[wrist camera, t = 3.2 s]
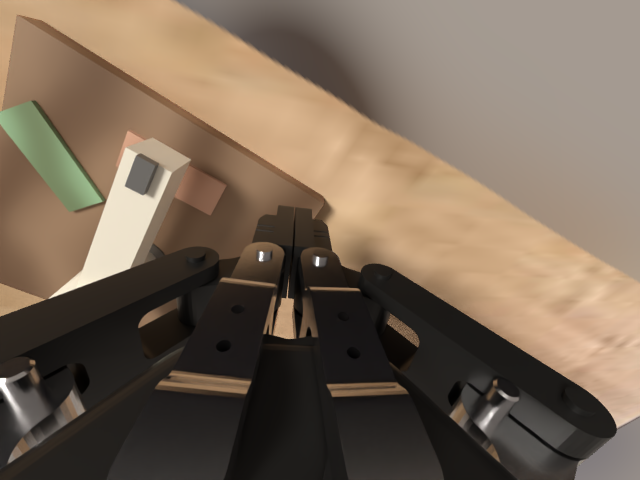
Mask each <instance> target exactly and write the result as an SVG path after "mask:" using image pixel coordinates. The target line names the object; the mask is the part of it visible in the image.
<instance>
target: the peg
mask: <svg viewBox="0 0 640 480" xmlns="http://www.w3.org/2000/svg"><path fill="white" fill-rule="evenodd" d="M190 161H191V159H189V158H187V157H186V156H184V155H182V154H180V153H179V152H177V151H175V150H173V149H172V148H170V147H168V146H167V145H165V144H163V143H161V142H160V141H158V140H156V139H154V138H150V139H147V140H145V141H142V142H139V143H136V144H133V145H131V146H128V147H126V148H125V150H124V153H123V156H122V159H121V162H120V165H119V168H118V170H117V173H116V176H115V179H114V182H113V185H112V188H111V190H110V193H109V196H108V199H107V202H106V205H105V207H104V210H103V213H102V216H101V219H100V222H99V225H98V227H97V230H96V233H95V236H94V239H93V242H92V245H91V247H90V250H89V253H88V256H87V259H86V262H85V264H84V267H83V270H82V271H81V272H79V273H78V274H77V275H76V276H75V277H73V278H72V279H71V280H70V281H69V282H67V283H66V284H65V285H64V286H63V287H62V288H60V289H59V290H58V291H57V292H56V293H54V294H53V295H52V296H51V297H50V298H52V297H55V296H57V295H60V294H63V293H66V292H68V291H71V290H74V289H76V288H79V287H82V286H84V285H87V284H90V283H92V282H95V281H98V280H101V279H103V278H106V277H109V276H111V275H114V274H117V273H119V272H122V271H125V270H127V269H130V268H133V267H136V266H138V265H141V264H144V263H146V262H149V261H152V260H154V259H156V257H155V256H154V255H153V254H152V253H150V252H149V250H150V248H151V246H152V244H153V242H154V240H155V237H156V235H157V233H158V231H159V229H160V227H161V224H162V222H163V220H164V218H165V216H166V213H167V211H168V209H169V207H170V205H171V203H172V200H173V198H174V196H175V194H176V192H177V189H178V187H179V185H180V183H181V181H182V179H183V176H184V174H185V172H186V170H187V168H188V166H189V163H190Z"/></svg>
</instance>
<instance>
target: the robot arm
mask: <svg viewBox="0 0 640 480" xmlns="http://www.w3.org/2000/svg"><path fill="white" fill-rule="evenodd" d="M329 237H330V236H329V231H328V226H327V225H326V224H325V223H324V222H323V221H322V220H314V219H313V218H312V209H309V208H301V207H296V208H295V216H294V207H292V206H283V205H278V210H277V215H269V214H265V215H263V216H262V217H260V218H259V220H258V224H257V227H256V230H255V234H254V237H253V240H252V244H250V245H248V246H246V247H245V249H244V251H243V253H242V255H241V256H239V257H236V258H230V259H220V260H219V254H218V253H217V252H216V251H215V250H213V249H211V248H208V247H201V246H196V247H188V248H184V249H181V250H179V251H176V252H173V253H171V254H168V255H165V256H162V257H160V258H157V259H154V260H152V261H149V262H146V263H144V264H141V265H138V266H136V267H133V268H130V269H127V270H125V271H122V272H119V273H117V274H114V275H111V276H109V277H106V278H103V279H101V280H98V281H95V282H92V283H90V284H87V285H84V286H82V287H79V288H76V289H74V290H71V291H68V292H66V293H63V294H60V295H57V296H55V297H52V298H49V299H47V300H44V301H41V302H39V303H36V304H33V305H31V306H28V307H25V308H22V309H20V310H17V311H14V312H12V313H9V314H6V315H4V316H1V317H0V480H574V478H575V474H576V469H577V467H578V466H579V465H580V464H581V463H583V462H584V461H585V460H586V459H587V458H589V457H590V456H591V455H592V454H593V453H595V452H596V451H597V450H598V449H599V448H600V447H602V446H603V445H604V444H605V443H606V442H607V441H609V440H610V439H611V438H612V437H613V436H615V434H616V431H617V428H616V424H615V421H614V419H613V417H612V416H611V414H610V413H609V411H608V410H607V409H606V408H605V407H604V405H603V404H602V403H601V402H600V401H599V400H597V399H596V398H595V397H594V396H593V395H592V394H590V393H589V392H588V391H586V390H585V389H583V388H582V387H580V386H579V385H577V384H575V383H574V382H572V381H571V380H569V379H567V378H566V377H564V376H563V375H561V374H559V373H558V372H556V371H555V370H553V369H551V368H550V367H548V366H547V365H545V364H543V363H542V362H540V361H539V360H537V359H536V358H534V357H532V356H531V355H529V354H528V353H526V352H524V351H523V350H521V349H520V348H518V347H516V346H515V345H513V344H512V343H510V342H508V341H507V340H505V339H504V338H502V337H500V336H499V335H497V334H496V333H494V332H492V331H491V330H489V329H488V328H486V327H484V326H483V325H481V324H480V323H478V322H476V321H475V320H473V319H472V318H470V317H469V316H467V315H465V314H464V313H462V312H461V311H459V310H457V309H456V308H454V307H453V306H451V305H449V304H448V303H446V302H445V301H443V300H441V299H440V298H438V297H437V296H435V295H433V294H432V293H430V292H429V291H427V290H425V289H424V288H422V287H421V286H419V285H417V284H416V283H414V282H413V281H411V280H409V279H408V278H406V277H405V276H403V275H402V274H400V273H398V272H397V271H395V270H394V269H392V268H390V267H388V266H385V265H381V264H368V265H365V266H364V267H363V268H362V270H361V272H357V271H354V270H351V269H348V268H345V267H343V266H342V265H341V263H340V260H339V257H338V256H337V255H336V254H335V253H334V252H332V247H331V242H330V238H329ZM288 280H289V289H288V298H292V299H294V305H293V312H292V319H293V333H294V339H285V338H281V337H277V336H274V331H275V326H276V321H277V316H278V309H279V307H280V305H281V299H282V298H286V296H287V288H288ZM174 299H176V300H177V308H176V309H174V310H172V311H170V312H168V313H166V314H164V315H162V316H160V317H159V318H157V319H155V320H153V321H151V322H149V323H147V324H145V325H144V326H142V327H140V328H138V326H139V323H140V321H141V319H142V318H143V317H144V316H145V315H146V314H147V313H148V312H150V311H152V310H154V309H156V308H158V307H160V306H162V305H164V304H166V303H168V302H170V301H172V300H174ZM390 314H392V315H394V316H395V317H396V318H398V319H399V320H400V321H402V322H403V323H404V324H406V325H407V326H408V327H410V328H411V329H412V330H414V331H415V333H416V334H417V336H418V338H419V342H420V344H419V347H418V348H417V347H416V346H415V345H414V344H412V343H411V342H410V341H408V340H407V339H406V338H405V337H403V336H402V335H401V334H400V333H398V332H397V331H396V330H394V329H393V328H392V327H391V326H389V325H388V324H387V322H388V319H389V316H390Z"/></svg>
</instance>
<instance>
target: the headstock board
mask: <svg viewBox="0 0 640 480" xmlns="http://www.w3.org/2000/svg"><path fill="white" fill-rule="evenodd" d="M150 138H154V139H156V140H158V141H160V142H161V143H163V144H165V145H167V146H168V147H170V148H172V149H173V150H175V151H177V152H179V153H180V154H182V155H184V156H186V157H187V158H189V159H191V161H190V163H189V166H188V168H187V170H186V172H185V174H184V176H183V179H182V181H181V183H180V185H179V187H178V189H177V192H176V194H175V196H174V198H173V200H172V203H171V205H170V207H169V209H168V211H167V213H166V216H165V218H164V220H163V222H162V224H161V227H160V229H159V231H158V233H157V235H156V237H155V240H154V242H153V244H152V246H151V248H150V250H149V252H150V253H152V254H153V255H154V256H155V257H156V259H157V258H160V257H162V256H165V255H168V254H171V253H173V252H176V251H179V250H181V249H184V248H188V247H196V246H201V247H208V248H211V249H213V250H215V251H216V252H217V253H218V254H219V260H220V259H230V258H236V257H239V256H241V255H242V253H243V251H244V249H245V247H246V246H248V245H250V244H252V240H253V237H254V234H255V230H256V227H257V224H258V220H259V218H260V217H262V216H263V215H265V214H269V215H277V210H278V205H283V206H292V207H294V216H295V208H296V207H301V208H309V209H312V218H313V219H314V218H315V217H316V215H317V214H318V212H319V211H320V210H321V208H322V207H323V205H324V199H323V196H322V195H320V194H318V193H317V192H315V191H314V190H312V189H310V188H309V187H307V186H306V185H304V184H302V183H301V182H299V181H298V180H296V179H294V178H293V177H291V176H290V175H288V174H286V173H285V172H283V171H282V170H280V169H278V168H277V167H275V166H274V165H272V164H270V163H269V162H267V161H266V160H264V159H262V158H261V157H259V156H258V155H256V154H254V153H253V152H251V151H250V150H248V149H246V148H245V147H243V146H242V145H240V144H238V143H237V142H235V141H234V140H232V139H230V138H229V137H227V136H226V135H224V134H222V133H221V132H219V131H218V130H216V129H214V128H213V127H211V126H210V125H208V124H206V123H205V122H203V121H202V120H200V119H198V118H197V117H195V116H194V115H192V114H190V113H189V112H187V111H186V110H184V109H182V108H181V107H179V106H178V105H176V104H174V103H173V102H171V101H170V100H168V99H166V98H165V97H163V96H162V95H160V94H158V93H157V92H155V91H154V90H152V89H150V88H149V87H147V86H146V85H144V84H142V83H141V82H139V81H138V80H136V79H134V78H133V77H131V76H130V75H128V74H126V73H125V72H123V71H122V70H120V69H118V68H117V67H115V66H114V65H112V64H110V63H109V62H107V61H106V60H104V59H102V58H101V57H99V56H98V55H96V54H94V53H93V52H91V51H90V50H88V49H86V48H85V47H83V46H82V45H80V44H78V43H77V42H75V41H74V40H72V39H70V38H69V37H67V36H66V35H64V34H62V33H61V32H59V31H58V30H56V29H54V28H53V27H51V26H50V25H48V24H46V23H45V22H43V21H41V20H37V19H33V18H29V17H25V16H20V15H17V17H16V23H15V30H14V36H13V43H12V49H11V55H10V62H9V68H8V75H7V81H6V88H5V94H4V101H3V107H2V111H1V112H0V283H1V284H4V285H7V286H10V287H13V288H15V289H18V290H21V291H24V292H26V293H29V294H32V295H35V296H38V297H40V298H43V299H46V300H47V299H49V298H50V297H51V296H52V295H53V294H54V293H56V292H57V291H58V290H59V289H60V288H62V287H63V286H64V285H65V284H66V283H67V282H69V281H70V280H71V279H72V278H73V277H75V276H76V275H77V274H78V273H79V272H81V271H82V270H83V267H84V264H85V262H86V259H87V256H88V253H89V250H90V247H91V245H92V242H93V239H94V236H95V233H96V230H97V227H98V225H99V222H100V219H101V216H102V213H103V210H104V207H105V205H106V202H107V199H108V196H109V193H110V190H111V188H112V185H113V182H114V179H115V176H116V173H117V170H118V168H119V165H120V162H121V159H122V156H123V153H124V150H125V148H126V147H128V146H131V145H133V144H136V143H139V142H142V141H145V140H147V139H150ZM176 308H177V300H176V299H174V300H172V301H170V302H168V303H166V304H164V305H162V306H160V307H158V308H156V309H154V310H152V311H150V312H148V313H147V314H146V315H145V316H144V317H143V318H142V319H141V321H140V323H139V326H138V328H140V327H142V326H144V325H145V324H147V323H149V322H151V321H153V320H155V319H157V318H159V317H160V316H162V315H164V314H166V313H168V312H170V311H172V310H174V309H176Z"/></svg>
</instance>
